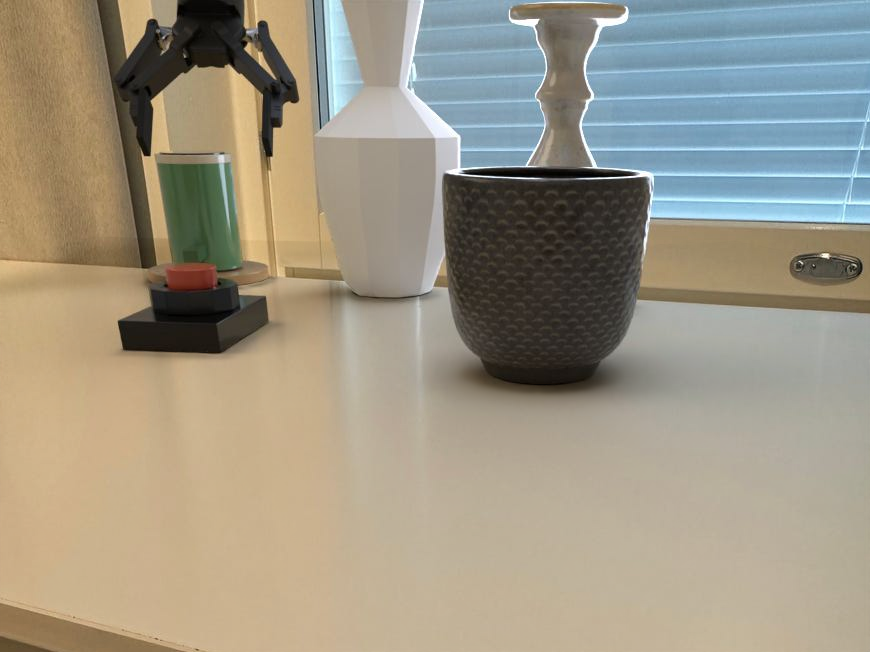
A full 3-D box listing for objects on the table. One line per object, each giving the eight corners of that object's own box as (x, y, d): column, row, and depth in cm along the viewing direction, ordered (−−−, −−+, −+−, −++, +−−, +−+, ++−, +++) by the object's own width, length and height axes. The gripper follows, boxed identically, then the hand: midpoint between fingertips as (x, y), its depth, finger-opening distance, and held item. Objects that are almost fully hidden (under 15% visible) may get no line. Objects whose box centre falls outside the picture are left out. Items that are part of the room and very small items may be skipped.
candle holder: (476, 300, 88) (478, 7, 76) (553, 288, 94) (565, 15, 82) (556, 318, 81) (572, -3, 69) (633, 303, 87) (659, 7, 75)
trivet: (128, 285, 94) (126, 275, 94) (177, 267, 105) (176, 258, 105) (246, 289, 93) (245, 279, 92) (284, 269, 104) (283, 260, 104)
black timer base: (122, 349, 70) (111, 296, 68) (183, 318, 80) (175, 271, 78) (220, 353, 69) (212, 298, 67) (269, 321, 79) (263, 273, 77)
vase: (380, 309, 84) (365, -17, 71) (299, 289, 93) (272, -3, 80) (490, 291, 92) (493, -3, 80) (405, 275, 101) (396, 8, 89)
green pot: (181, 260, 102) (163, 150, 96) (249, 260, 102) (235, 150, 96) (156, 277, 92) (135, 155, 86) (231, 277, 92) (215, 155, 86)
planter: (420, 356, 68) (414, 167, 62) (582, 343, 73) (593, 164, 66) (485, 405, 57) (487, 180, 50) (672, 386, 61) (697, 176, 55)
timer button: (160, 293, 71) (156, 269, 70) (180, 284, 74) (176, 262, 73) (208, 294, 71) (204, 271, 70) (226, 286, 74) (223, 263, 73)
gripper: (322, 26, 108) (322, 172, 103) (114, 23, 107) (103, 172, 102) (314, -34, 101) (313, 120, 96) (90, -38, 99) (77, 119, 94)
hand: (205, 147), depth 99 cm, fingers open, 13 cm apart
